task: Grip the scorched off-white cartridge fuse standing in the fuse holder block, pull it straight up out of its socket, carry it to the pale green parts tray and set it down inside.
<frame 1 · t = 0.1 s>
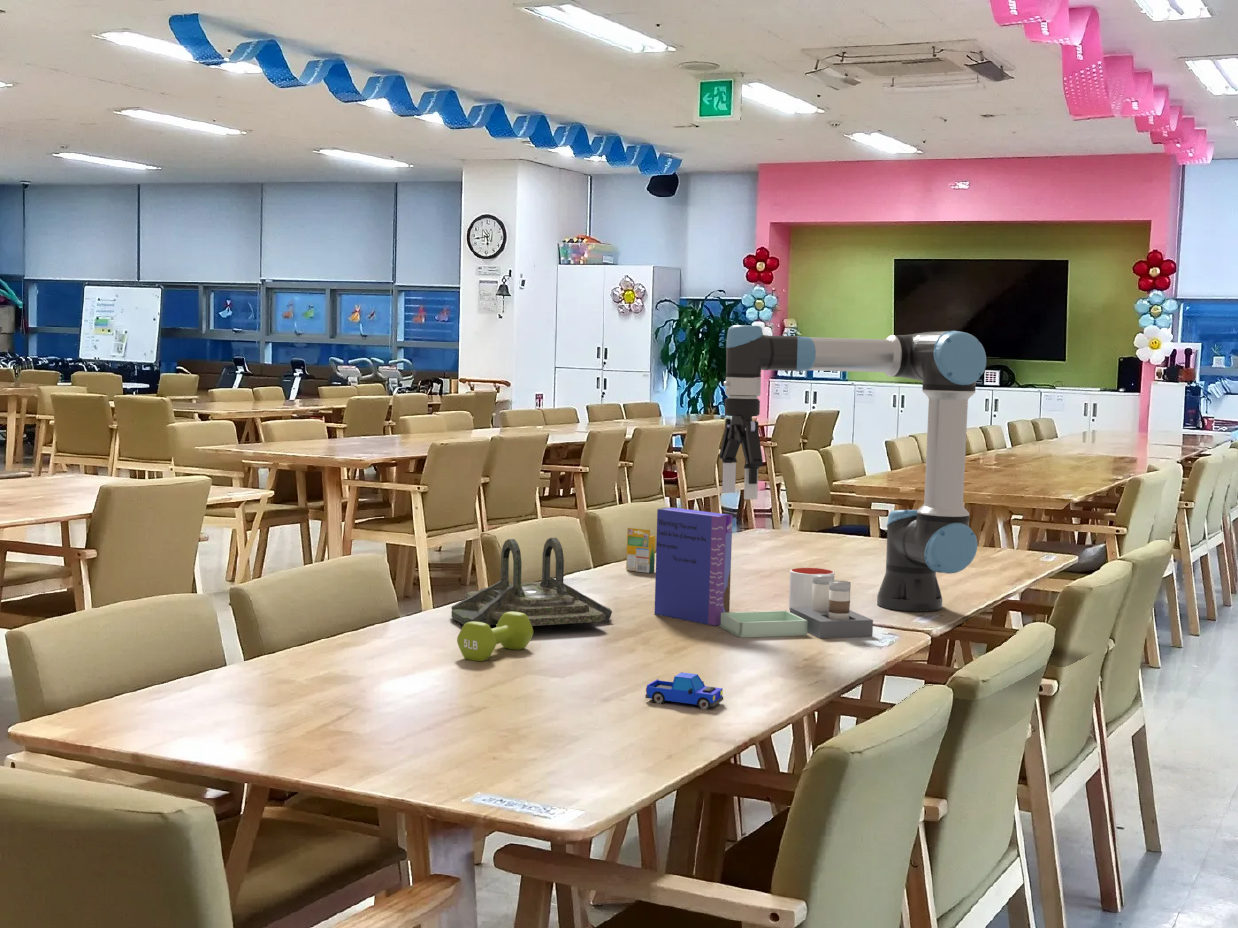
hand: (739, 495, 298), 28 cm above the table, fingers open, 13 cm apart
crayon box: (640, 572, 369), on the table
toy car: (684, 705, 231), on the table
cup: (810, 615, 313), on the table
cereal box: (691, 619, 304), on the table
fuse holder block: (830, 629, 296), on the table
blown fuse: (838, 633, 292), resting in fuse holder block
dumbbell: (495, 655, 265), on the table
metal base with loops: (531, 621, 299), on the table
parts tray: (763, 630, 293), on the table
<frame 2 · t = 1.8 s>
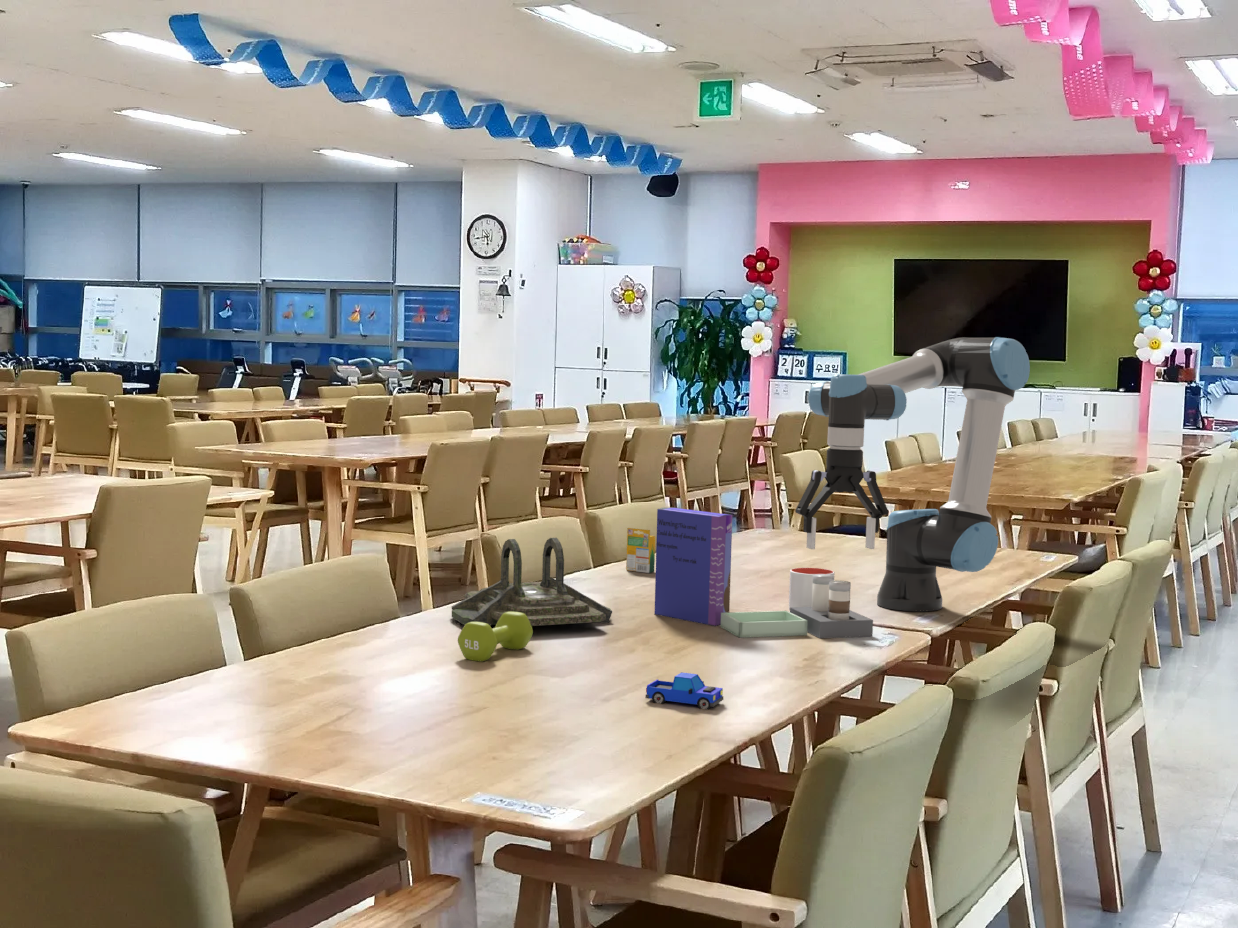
hand: (840, 548, 291), 18 cm above the table, fingers open, 13 cm apart
nothing on the table moved.
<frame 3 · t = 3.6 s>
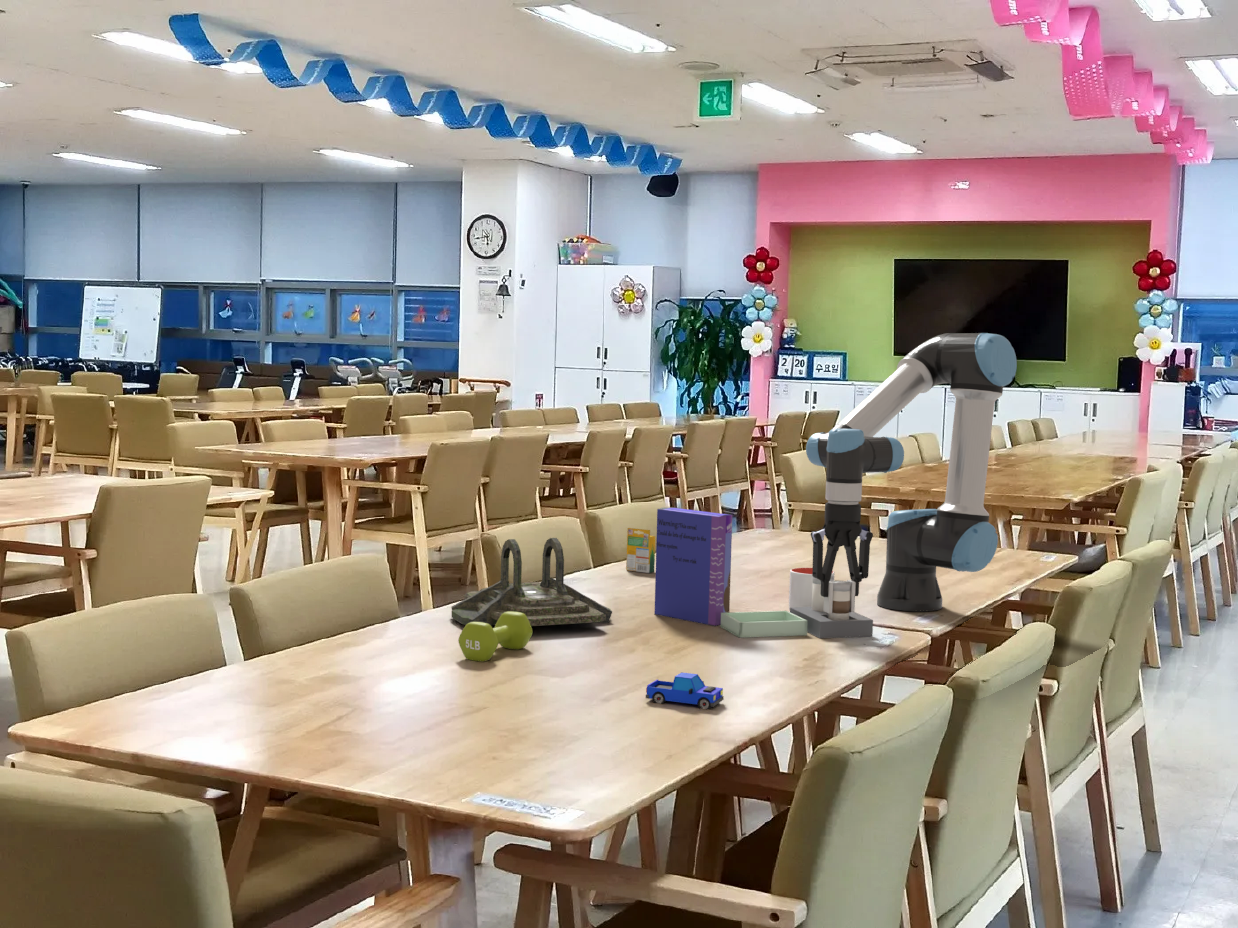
hand: (838, 611, 292), 5 cm above the table, fingers closed on blown fuse, 4 cm apart
blown fuse: (838, 633, 292), resting in fuse holder block, touching gripper
everything else where it was.
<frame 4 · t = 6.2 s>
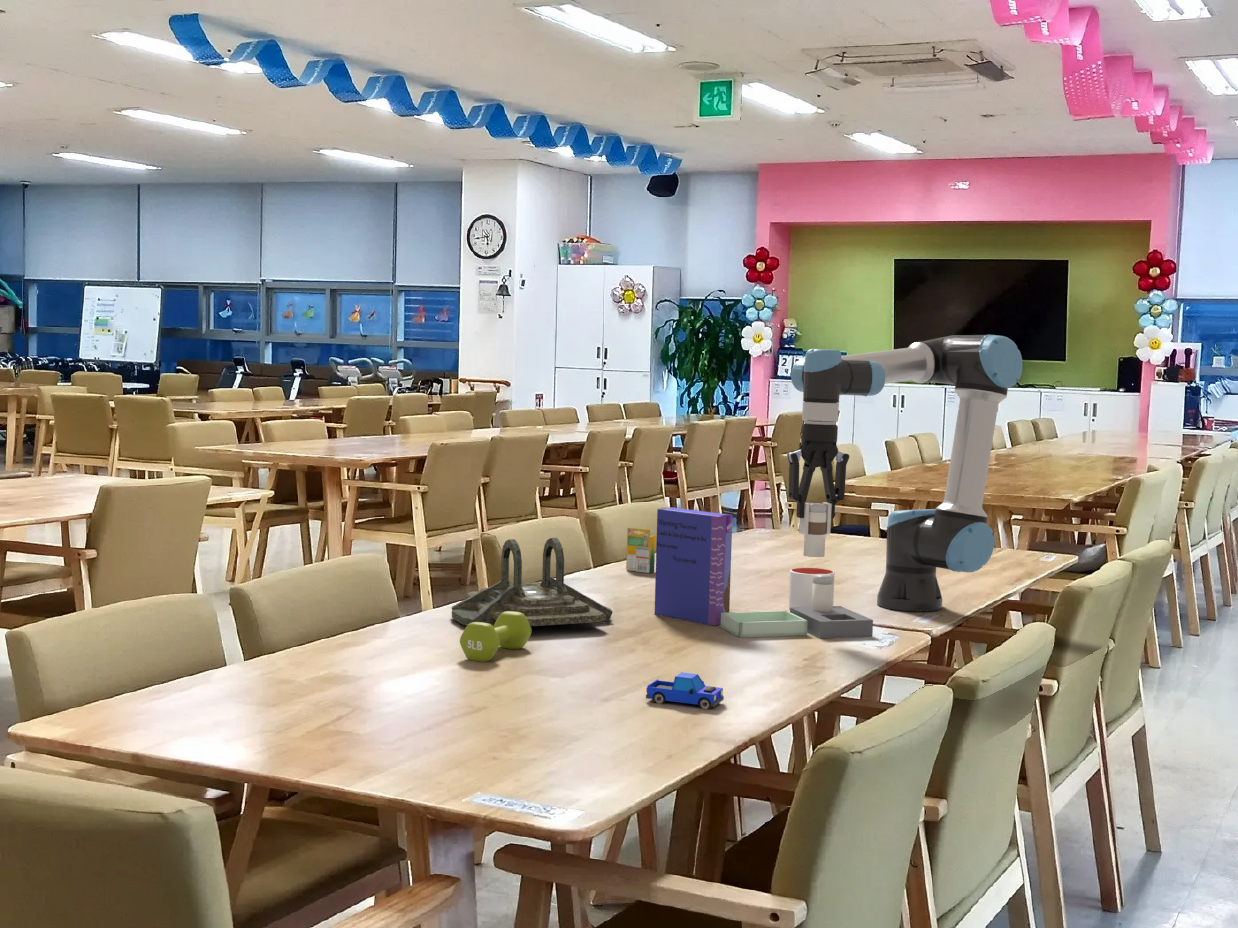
hand: (814, 533, 290), 21 cm above the table, fingers closed on blown fuse, 4 cm apart
blown fuse: (813, 555, 291), point 17 cm above the table, touching gripper
everything else where it was.
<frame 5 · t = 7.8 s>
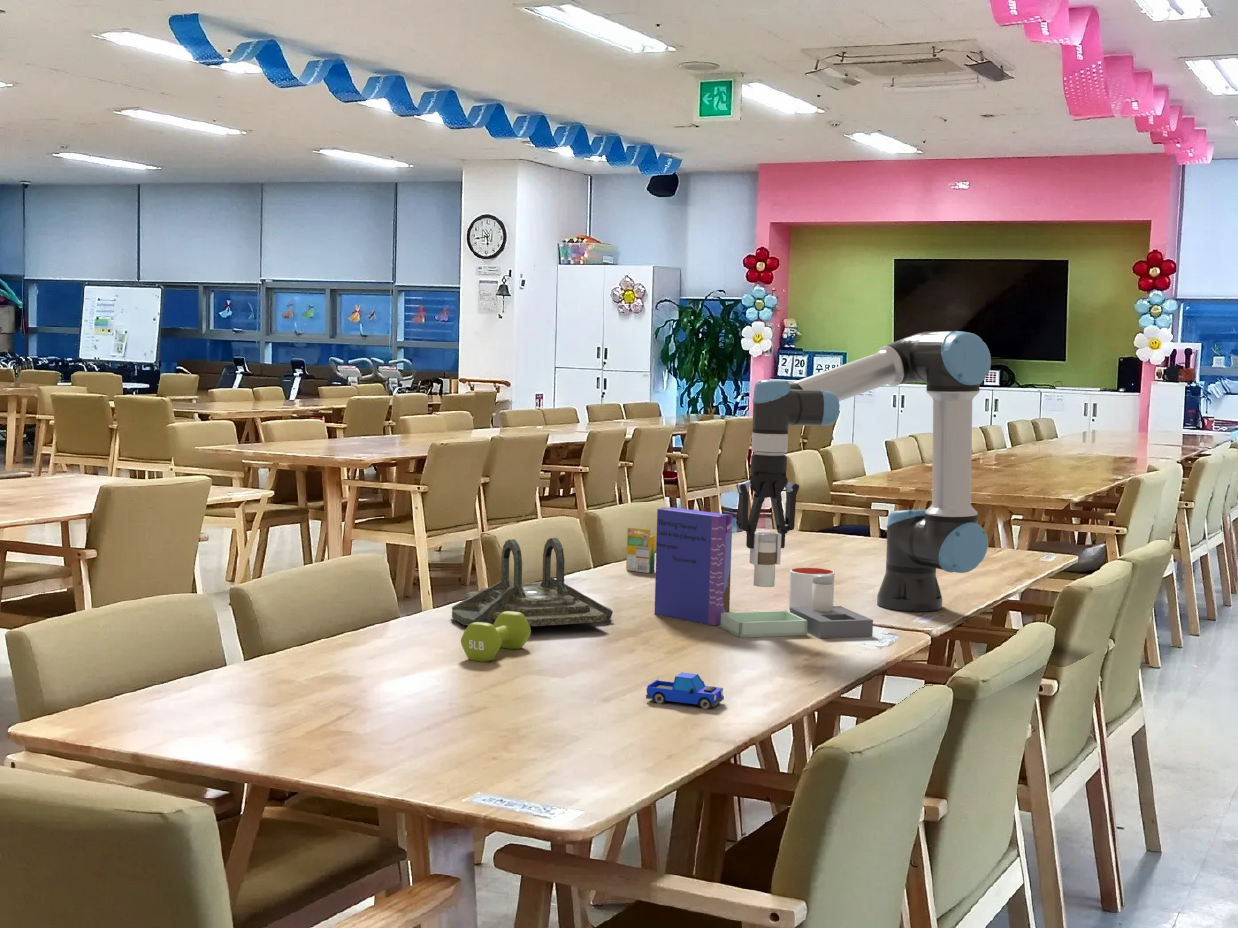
hand: (764, 563, 292), 14 cm above the table, fingers closed on blown fuse, 4 cm apart
blown fuse: (764, 585, 292), point 10 cm above the table, touching gripper
everything else where it was.
when the fingers open (7 cm above the table, at t = 9.2 s): blown fuse drops 1 cm, resting on parts tray.
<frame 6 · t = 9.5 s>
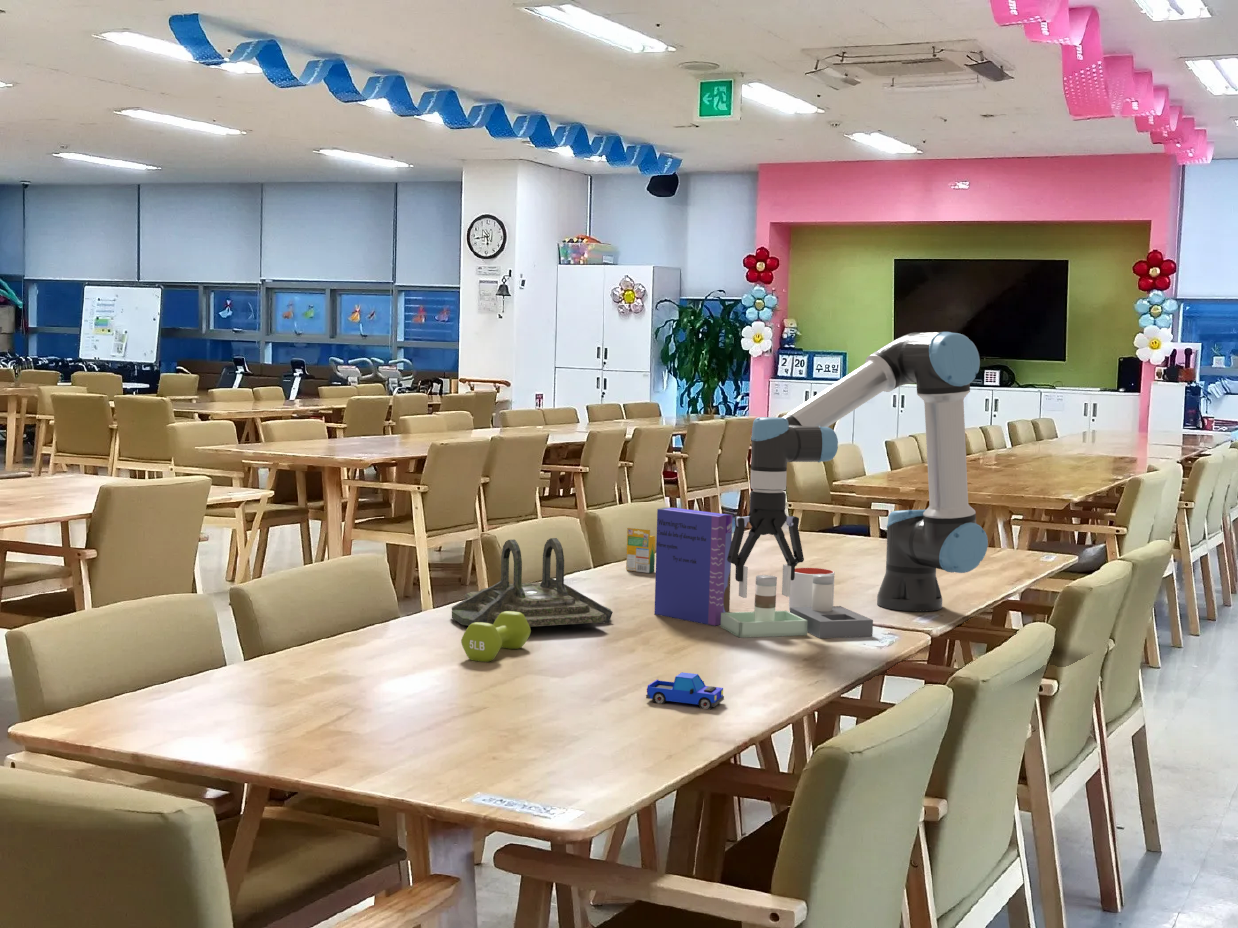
hand: (764, 596, 292), 8 cm above the table, fingers open, 9 cm apart
blown fuse: (764, 627, 293), point 1 cm above the table, touching parts tray
everything else where it was.
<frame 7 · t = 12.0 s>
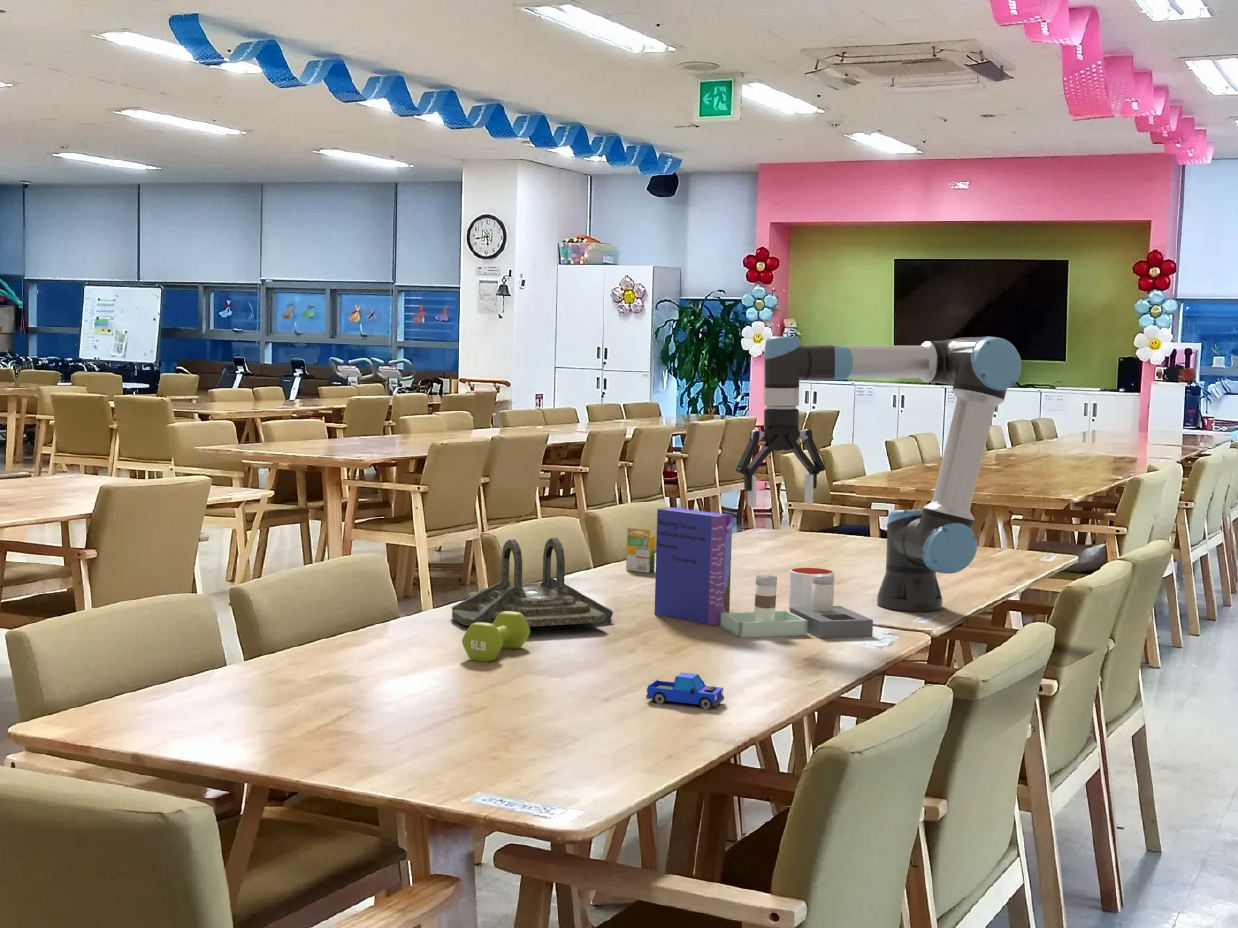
hand: (780, 504, 301), 26 cm above the table, fingers open, 13 cm apart
nothing on the table moved.
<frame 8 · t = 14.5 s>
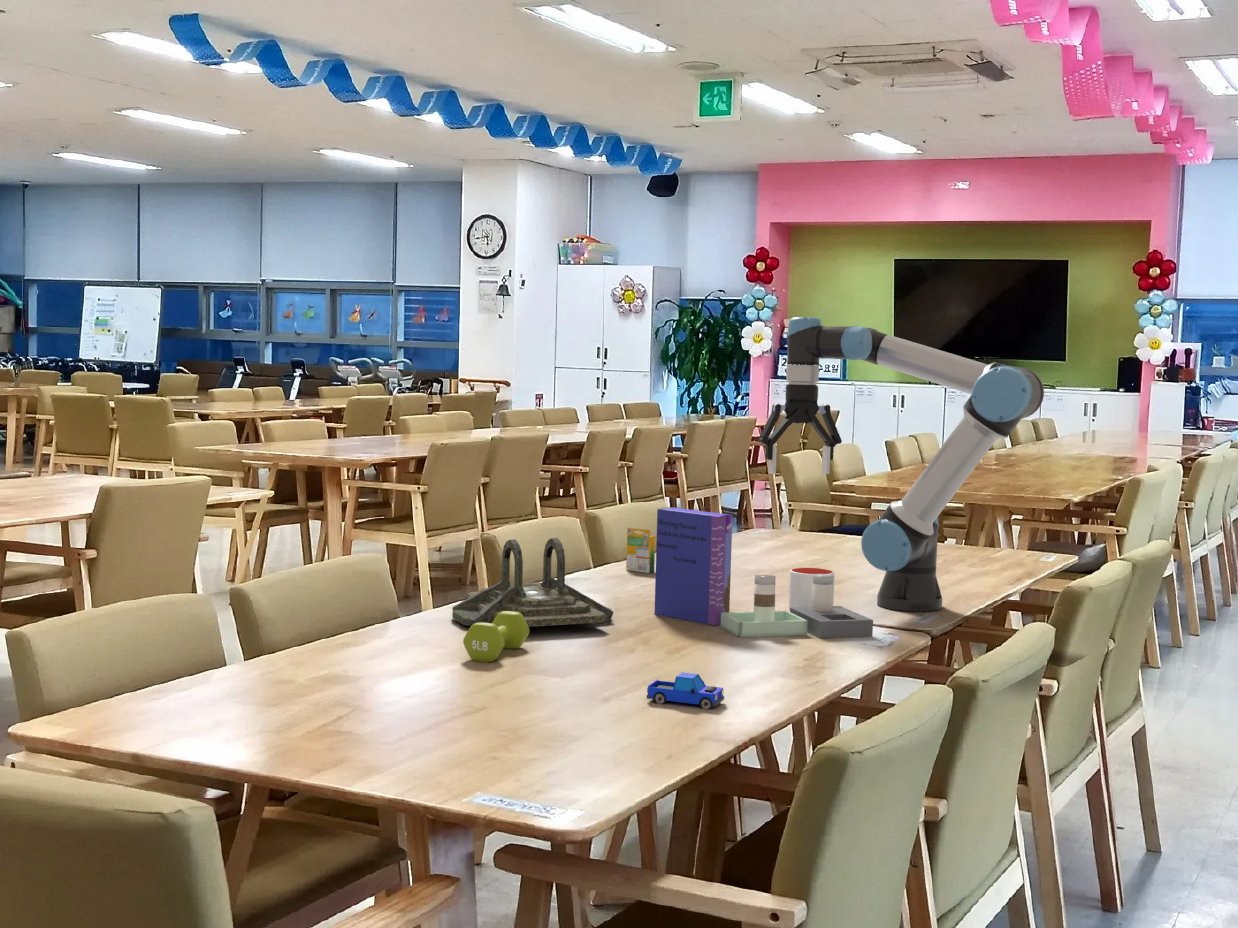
hand: (798, 474, 325), 31 cm above the table, fingers open, 13 cm apart
nothing on the table moved.
at the end: blown fuse inside the target area on the parts tray (0.1 cm from its centre), point 0.7 cm above the parts tray's base; the gripper is holding nothing; blown fuse touching parts tray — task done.
